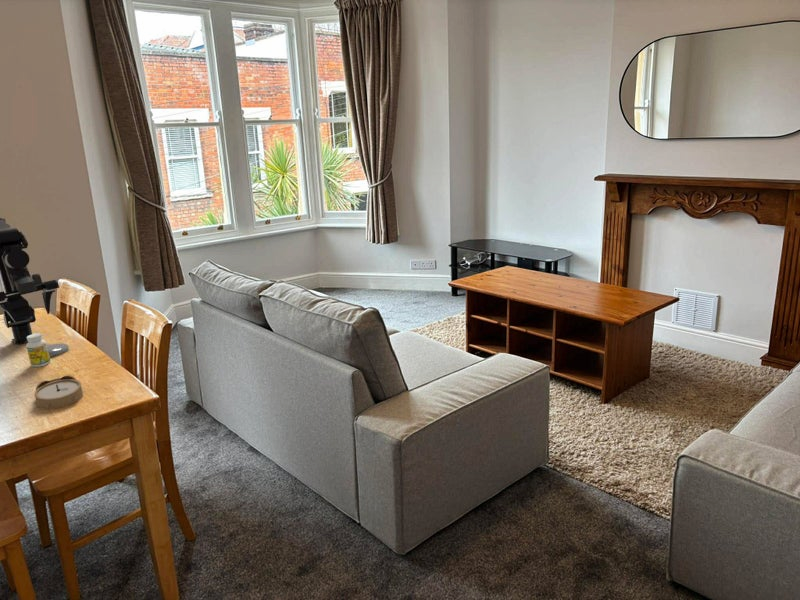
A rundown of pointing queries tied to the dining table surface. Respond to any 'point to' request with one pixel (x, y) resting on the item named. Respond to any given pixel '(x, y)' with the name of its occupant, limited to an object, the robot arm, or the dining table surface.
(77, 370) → the dining table surface
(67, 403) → the alarm clock
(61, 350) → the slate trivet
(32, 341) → the supplement bottle
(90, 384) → the dining table surface
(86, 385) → the dining table surface
